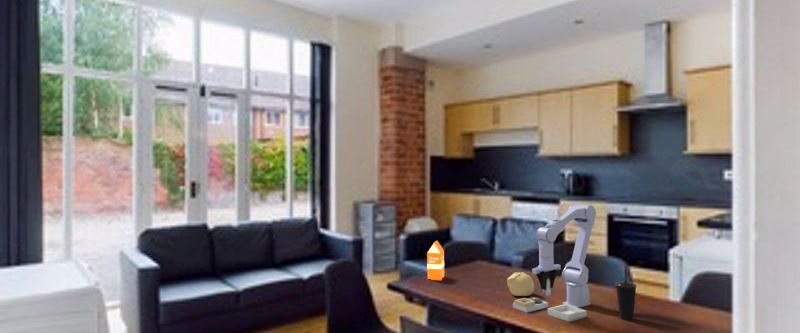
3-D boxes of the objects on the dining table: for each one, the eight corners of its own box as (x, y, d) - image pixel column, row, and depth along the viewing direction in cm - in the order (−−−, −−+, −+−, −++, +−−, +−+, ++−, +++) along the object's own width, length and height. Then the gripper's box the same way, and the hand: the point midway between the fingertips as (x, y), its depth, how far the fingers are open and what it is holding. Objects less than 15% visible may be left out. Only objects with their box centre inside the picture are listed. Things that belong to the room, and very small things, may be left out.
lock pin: (546, 293, 198) (545, 276, 198) (552, 294, 195) (551, 277, 195) (541, 294, 196) (540, 277, 196) (547, 296, 194) (546, 279, 194)
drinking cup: (630, 315, 191) (630, 266, 190) (641, 321, 183) (640, 270, 183) (612, 315, 190) (611, 266, 190) (621, 322, 183) (621, 271, 183)
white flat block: (534, 302, 210) (534, 294, 210) (548, 307, 203) (548, 298, 203) (513, 307, 203) (512, 299, 203) (526, 312, 196) (526, 304, 196)
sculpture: (514, 290, 230) (514, 268, 230) (537, 294, 223) (537, 271, 222) (503, 295, 221) (503, 272, 221) (527, 300, 214) (527, 276, 213)
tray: (565, 310, 198) (565, 304, 198) (586, 317, 189) (586, 310, 189) (547, 314, 193) (547, 308, 193) (568, 322, 184) (568, 315, 184)
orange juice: (427, 279, 254) (426, 242, 253) (431, 275, 262) (430, 240, 262) (441, 280, 251) (440, 243, 251) (444, 276, 260) (444, 240, 260)
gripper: (551, 252, 202) (552, 283, 203) (526, 256, 195) (527, 289, 196) (564, 255, 196) (564, 287, 197) (539, 259, 189) (539, 293, 189)
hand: (546, 288), depth 196 cm, fingers closed on lock pin, 3 cm apart
